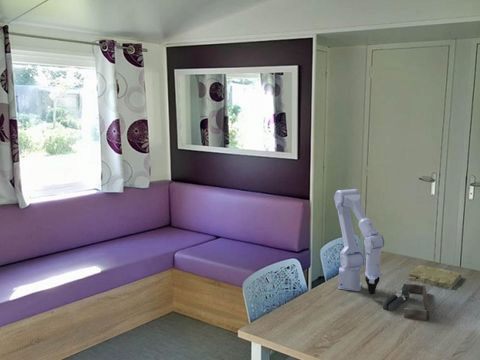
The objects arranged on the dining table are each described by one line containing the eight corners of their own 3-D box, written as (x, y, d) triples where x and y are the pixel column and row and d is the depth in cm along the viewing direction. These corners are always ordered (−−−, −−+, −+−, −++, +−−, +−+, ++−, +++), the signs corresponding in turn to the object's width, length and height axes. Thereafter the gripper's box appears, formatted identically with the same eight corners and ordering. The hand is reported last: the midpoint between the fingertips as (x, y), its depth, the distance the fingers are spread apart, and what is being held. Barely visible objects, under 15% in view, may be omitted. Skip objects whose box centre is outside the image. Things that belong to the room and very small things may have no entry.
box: (404, 317, 190) (404, 308, 189) (403, 290, 216) (403, 282, 215) (428, 320, 187) (429, 311, 186) (424, 292, 213) (425, 285, 213)
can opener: (400, 294, 212) (400, 280, 211) (411, 298, 209) (412, 283, 207) (380, 309, 198) (381, 294, 196) (393, 312, 194) (393, 297, 193)
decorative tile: (418, 270, 243) (419, 263, 243) (461, 279, 231) (462, 271, 231) (405, 281, 229) (406, 273, 228) (450, 291, 217) (451, 283, 216)
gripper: (382, 269, 196) (381, 301, 198) (383, 258, 210) (382, 288, 212) (364, 267, 198) (363, 299, 200) (366, 256, 212) (365, 286, 214)
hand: (371, 293), depth 206 cm, fingers closed
